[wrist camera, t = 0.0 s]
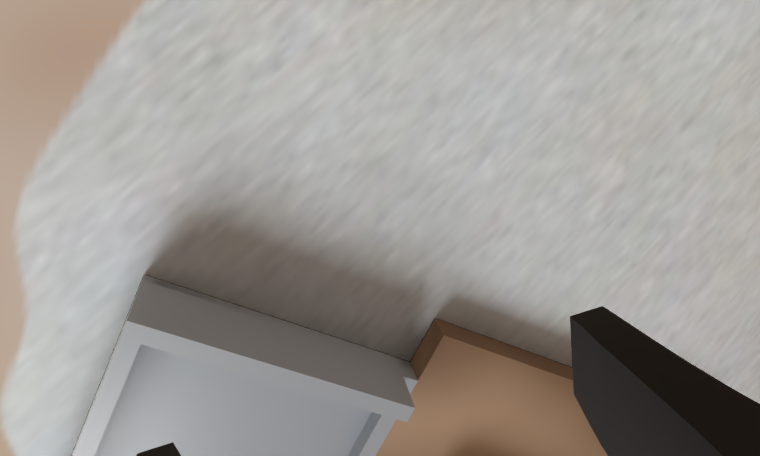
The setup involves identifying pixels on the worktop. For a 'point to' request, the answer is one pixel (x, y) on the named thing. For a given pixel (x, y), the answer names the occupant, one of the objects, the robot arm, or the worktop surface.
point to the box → (239, 384)
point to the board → (489, 402)
